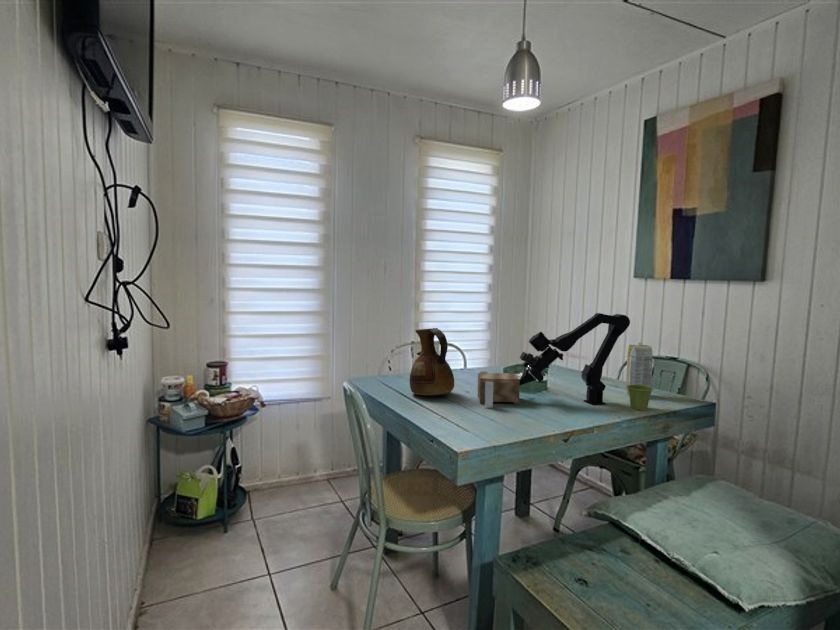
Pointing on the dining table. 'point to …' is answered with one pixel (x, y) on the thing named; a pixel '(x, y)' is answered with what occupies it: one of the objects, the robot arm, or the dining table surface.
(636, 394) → the plant pot
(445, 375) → the ceramic pitcher
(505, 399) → the wood grain box
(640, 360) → the juice carton
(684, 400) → the dining table surface
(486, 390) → the post
